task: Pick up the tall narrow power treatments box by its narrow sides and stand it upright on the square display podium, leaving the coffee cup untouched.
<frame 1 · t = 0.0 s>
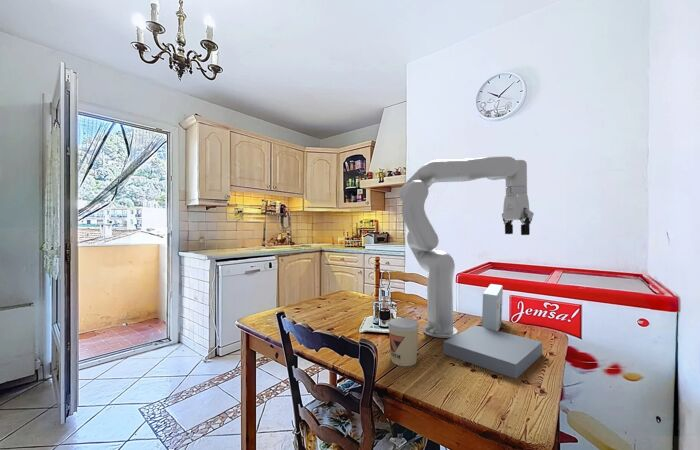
hand: (516, 234, 122), 37 cm above the table, tool pointing down, fingers open, 9 cm apart
skincare box: (493, 328, 122), on the table
podium: (492, 354, 98), on the table
coffee cup: (403, 361, 95), on the table
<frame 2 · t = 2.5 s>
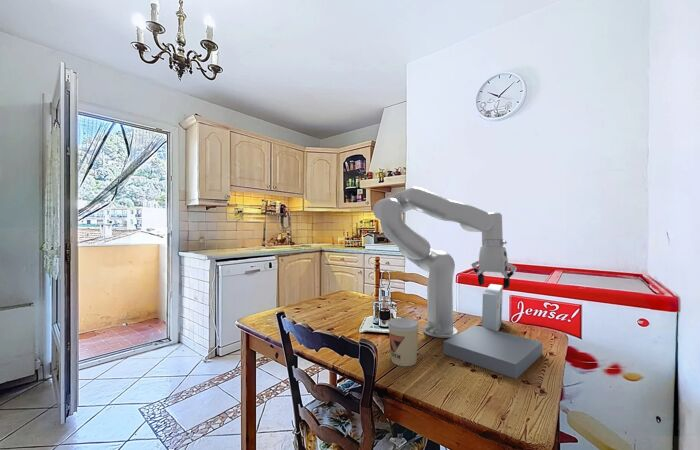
hand: (493, 286, 121), 17 cm above the table, tool pointing down, fingers open, 9 cm apart
nothing on the table moved.
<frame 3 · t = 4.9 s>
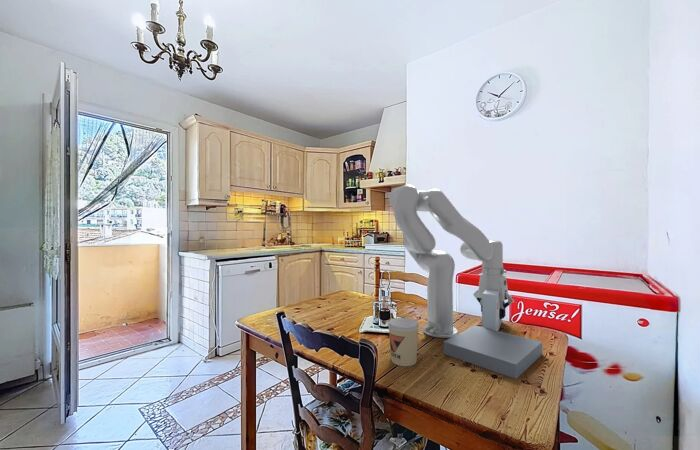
hand: (493, 315, 121), 5 cm above the table, tool pointing down, fingers closed on skincare box, 6 cm apart
skincare box: (493, 328, 122), on the table, touching gripper
everything else where it was.
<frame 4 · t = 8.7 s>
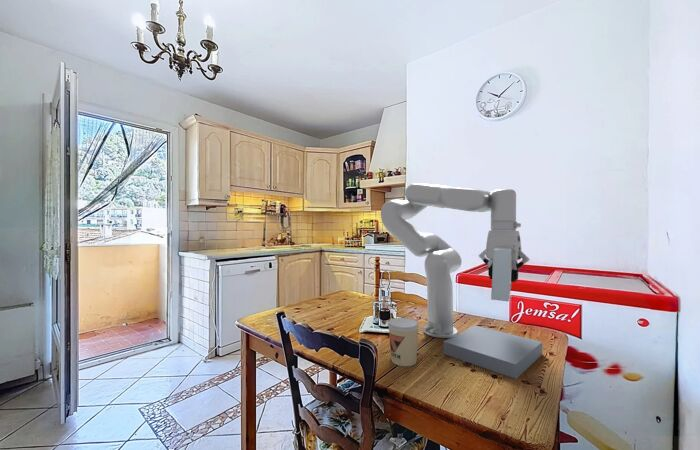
hand: (502, 279, 102), 23 cm above the table, tool pointing down, fingers closed on skincare box, 6 cm apart
skincare box: (502, 294, 102), point 18 cm above the table, touching gripper
everything else where it was.
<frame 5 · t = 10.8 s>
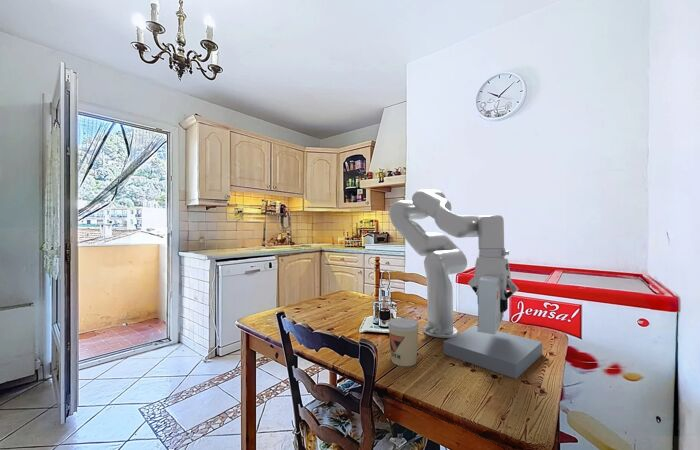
hand: (492, 308, 98), 15 cm above the table, tool pointing down, fingers closed on skincare box, 6 cm apart
skincare box: (492, 324, 98), point 10 cm above the table, touching gripper
everything else where it was.
when the fingers open (10 cm above the table, at t = 12.6 s): skincare box drops 1 cm, resting on podium.
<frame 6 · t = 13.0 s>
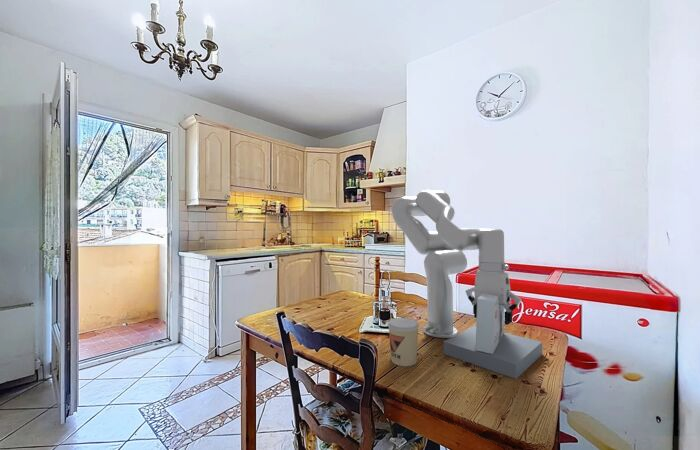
hand: (492, 320, 98), 11 cm above the table, tool pointing down, fingers open, 9 cm apart
skincare box: (491, 342, 98), point 4 cm above the table, touching podium
everything else where it was.
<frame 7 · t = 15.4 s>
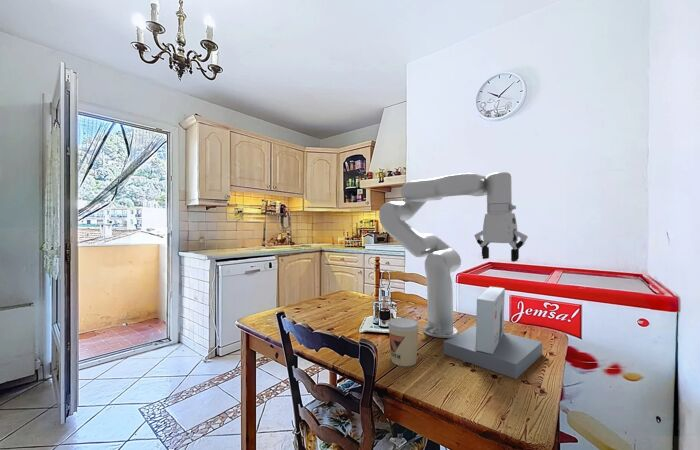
hand: (499, 259, 103), 30 cm above the table, tool pointing down, fingers open, 9 cm apart
nothing on the table moved.
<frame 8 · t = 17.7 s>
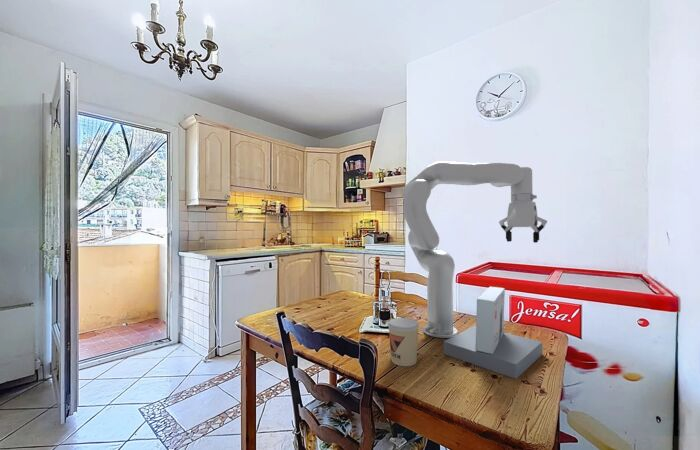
hand: (522, 241, 121), 34 cm above the table, tool pointing down, fingers open, 9 cm apart
nothing on the table moved.
at the end: skincare box inside the target area on the podium (0.3 cm from its centre), point 3.8 cm above the podium's base; skincare box tilted 0°; the gripper is holding nothing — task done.
